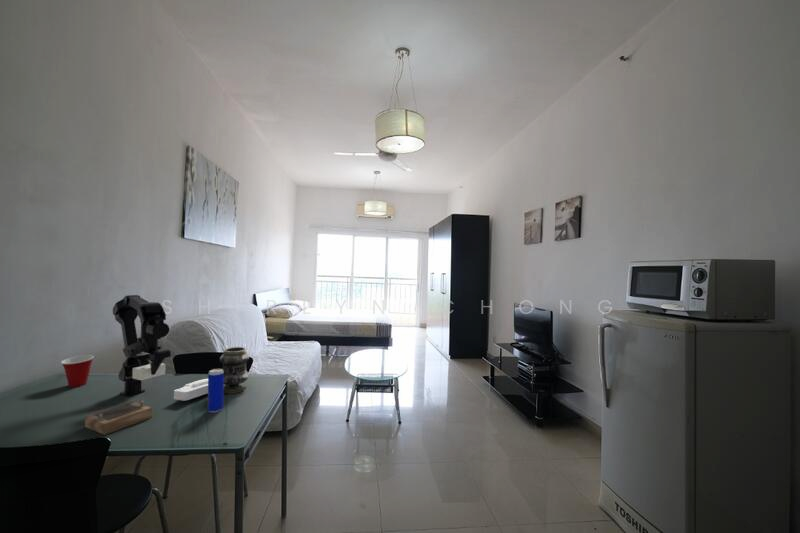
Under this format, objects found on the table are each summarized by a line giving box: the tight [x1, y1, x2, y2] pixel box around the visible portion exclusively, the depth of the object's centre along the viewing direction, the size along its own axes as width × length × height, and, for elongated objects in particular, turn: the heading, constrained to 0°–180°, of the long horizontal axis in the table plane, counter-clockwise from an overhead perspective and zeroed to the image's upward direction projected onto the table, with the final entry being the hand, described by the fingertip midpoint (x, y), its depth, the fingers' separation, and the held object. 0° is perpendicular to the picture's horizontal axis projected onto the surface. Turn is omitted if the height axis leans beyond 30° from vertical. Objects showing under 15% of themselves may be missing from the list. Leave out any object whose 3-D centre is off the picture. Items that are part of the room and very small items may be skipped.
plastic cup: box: [60, 354, 95, 388], centre depth 152 cm, size 11×11×12 cm
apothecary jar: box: [219, 346, 250, 394], centre depth 150 cm, size 12×12×18 cm
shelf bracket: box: [173, 377, 227, 402], centre depth 147 cm, size 6×25×13 cm
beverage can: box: [207, 368, 225, 413], centre depth 129 cm, size 5×5×15 cm
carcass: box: [84, 400, 153, 436], centre depth 118 cm, size 12×14×5 cm
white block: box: [132, 362, 166, 381], centre depth 136 cm, size 6×9×4 cm, turn 156°
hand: (148, 373), depth 136 cm, fingers closed on white block, 5 cm apart
